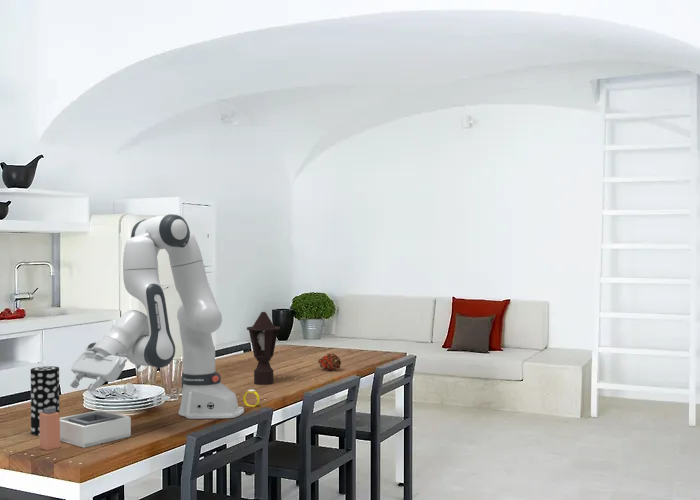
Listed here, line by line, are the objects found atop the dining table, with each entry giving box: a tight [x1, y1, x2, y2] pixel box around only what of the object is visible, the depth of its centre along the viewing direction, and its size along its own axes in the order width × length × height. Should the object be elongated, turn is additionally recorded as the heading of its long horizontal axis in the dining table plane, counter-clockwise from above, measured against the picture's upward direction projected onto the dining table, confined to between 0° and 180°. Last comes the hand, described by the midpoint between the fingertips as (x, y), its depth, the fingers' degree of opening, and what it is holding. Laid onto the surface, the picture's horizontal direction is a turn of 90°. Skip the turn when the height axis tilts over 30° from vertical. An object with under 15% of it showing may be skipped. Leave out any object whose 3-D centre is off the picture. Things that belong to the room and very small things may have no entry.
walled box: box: [60, 409, 132, 449], centre depth 231 cm, size 16×16×6 cm
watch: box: [242, 389, 261, 408], centre depth 274 cm, size 6×3×6 cm, turn 70°
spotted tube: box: [30, 365, 60, 436], centre depth 237 cm, size 8×8×20 cm
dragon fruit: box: [317, 352, 342, 372], centre depth 351 cm, size 8×8×12 cm
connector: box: [39, 407, 61, 451], centre depth 220 cm, size 4×4×12 cm
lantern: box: [246, 311, 281, 386], centre depth 319 cm, size 15×15×30 cm
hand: (81, 388), depth 228 cm, fingers open, 8 cm apart
